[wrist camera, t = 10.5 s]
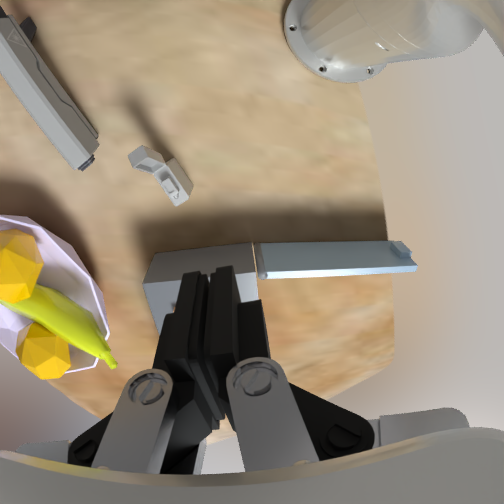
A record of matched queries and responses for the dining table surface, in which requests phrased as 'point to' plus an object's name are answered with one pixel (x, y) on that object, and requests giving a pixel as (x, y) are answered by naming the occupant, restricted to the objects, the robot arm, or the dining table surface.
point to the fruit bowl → (48, 302)
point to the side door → (331, 258)
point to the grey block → (200, 259)
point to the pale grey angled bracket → (163, 173)
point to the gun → (44, 94)
